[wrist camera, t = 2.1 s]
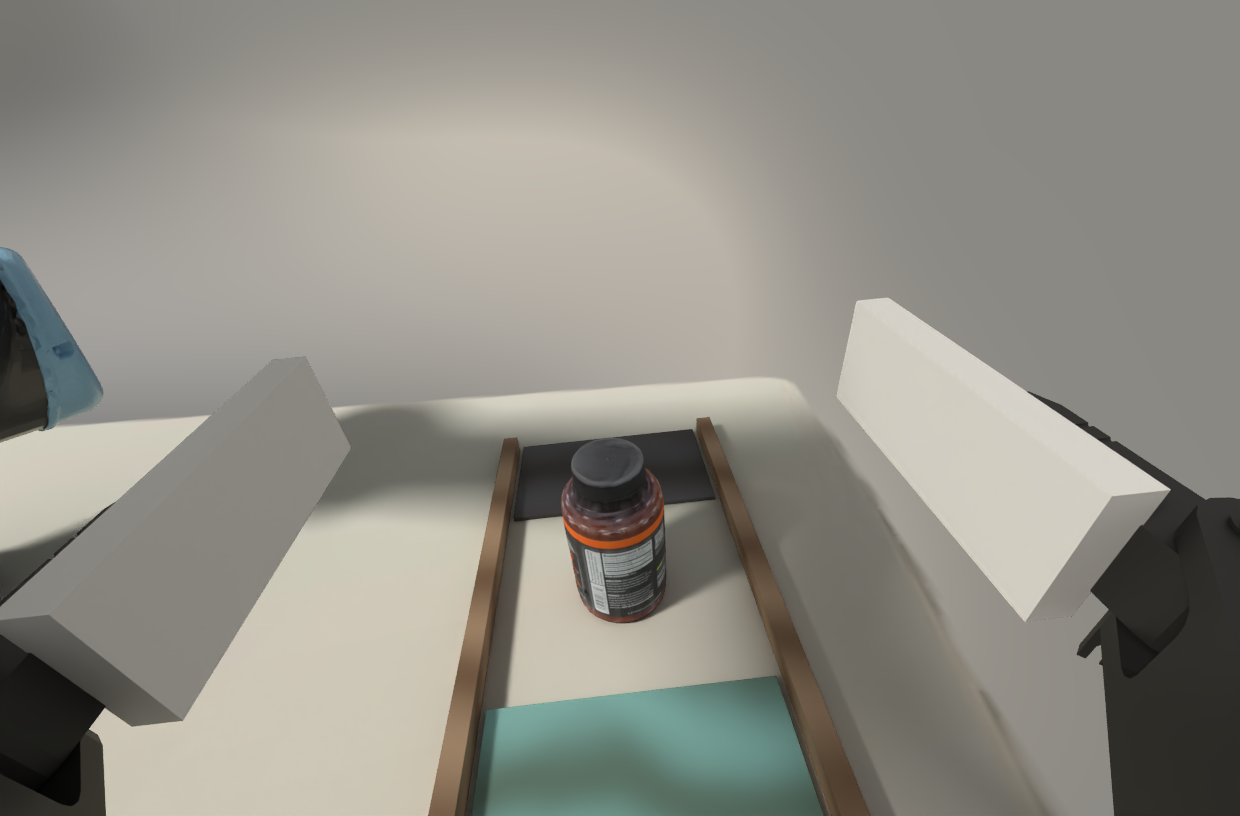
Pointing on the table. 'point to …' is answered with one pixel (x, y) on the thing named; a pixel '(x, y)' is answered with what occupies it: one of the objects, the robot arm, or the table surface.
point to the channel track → (641, 721)
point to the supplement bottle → (615, 530)
